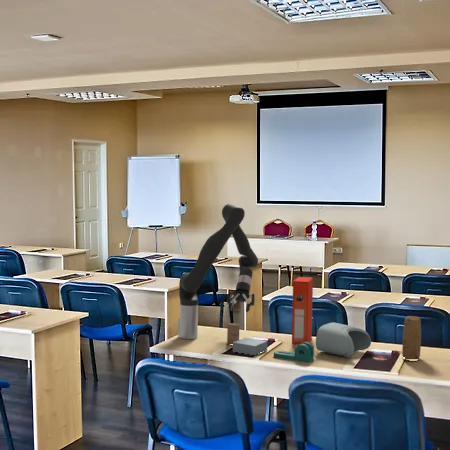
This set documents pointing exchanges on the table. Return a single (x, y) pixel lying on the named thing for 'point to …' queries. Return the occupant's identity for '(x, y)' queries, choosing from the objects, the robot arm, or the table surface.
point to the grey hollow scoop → (341, 339)
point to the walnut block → (232, 333)
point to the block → (412, 337)
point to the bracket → (297, 353)
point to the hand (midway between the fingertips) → (238, 310)
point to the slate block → (249, 346)
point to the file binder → (302, 310)
